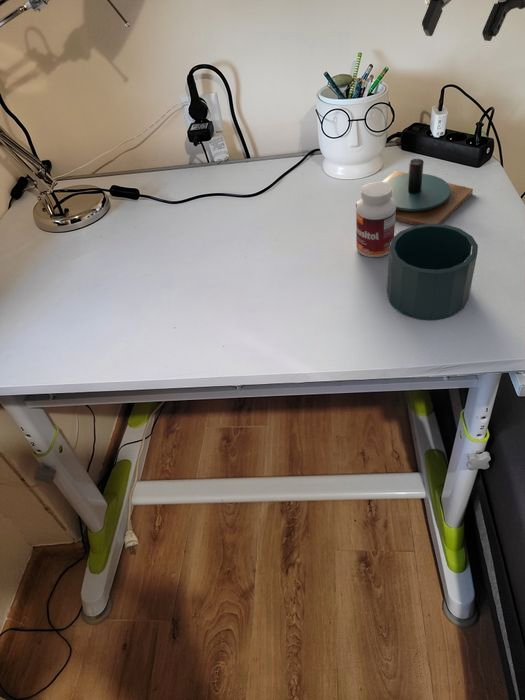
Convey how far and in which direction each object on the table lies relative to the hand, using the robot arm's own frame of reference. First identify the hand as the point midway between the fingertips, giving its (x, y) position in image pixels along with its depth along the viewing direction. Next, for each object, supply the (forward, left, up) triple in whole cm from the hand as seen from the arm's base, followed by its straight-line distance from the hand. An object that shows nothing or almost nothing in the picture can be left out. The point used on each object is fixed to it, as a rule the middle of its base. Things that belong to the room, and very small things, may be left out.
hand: (455, 35), depth 69 cm
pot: (-9, +19, -29) cm, 35 cm away
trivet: (+6, -3, -29) cm, 29 cm away
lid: (+6, -3, -27) cm, 28 cm away
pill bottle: (+4, +13, -29) cm, 32 cm away
